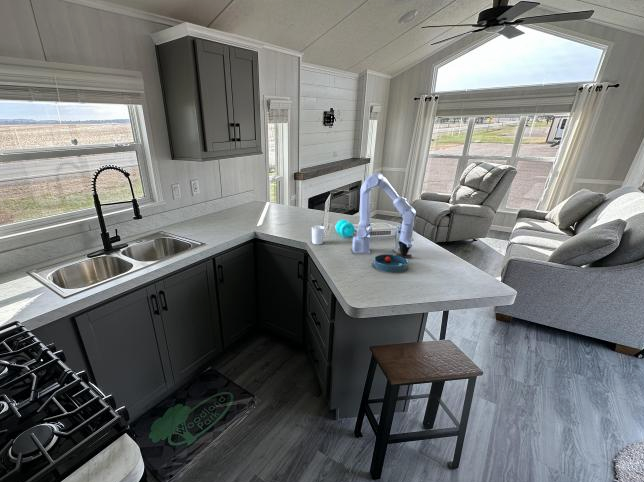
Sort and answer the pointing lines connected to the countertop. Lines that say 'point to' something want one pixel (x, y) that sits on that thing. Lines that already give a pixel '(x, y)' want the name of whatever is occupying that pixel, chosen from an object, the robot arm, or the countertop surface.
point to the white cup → (317, 234)
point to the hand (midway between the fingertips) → (403, 255)
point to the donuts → (345, 228)
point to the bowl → (390, 263)
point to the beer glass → (397, 238)
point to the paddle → (404, 256)
